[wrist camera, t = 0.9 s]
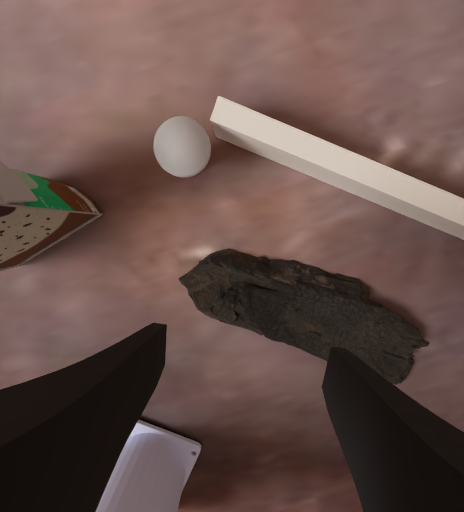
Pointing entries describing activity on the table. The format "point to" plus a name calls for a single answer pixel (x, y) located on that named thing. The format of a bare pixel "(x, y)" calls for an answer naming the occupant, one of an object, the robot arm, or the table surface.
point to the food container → (38, 215)
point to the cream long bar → (305, 162)
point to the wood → (303, 309)
